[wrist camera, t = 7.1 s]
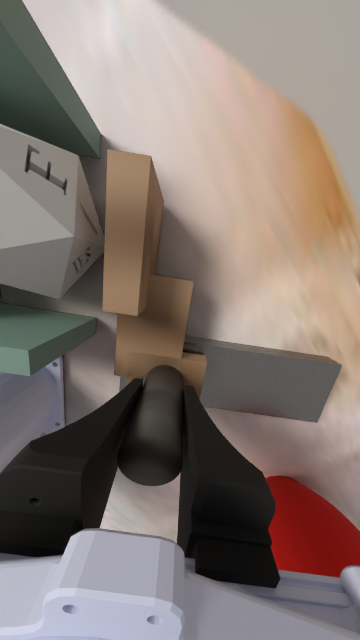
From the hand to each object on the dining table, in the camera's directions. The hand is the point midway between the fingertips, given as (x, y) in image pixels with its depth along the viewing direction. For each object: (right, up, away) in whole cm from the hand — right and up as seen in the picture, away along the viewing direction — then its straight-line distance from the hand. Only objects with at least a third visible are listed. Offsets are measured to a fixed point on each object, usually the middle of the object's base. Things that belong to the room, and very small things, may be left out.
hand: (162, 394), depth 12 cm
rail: (+5, 0, +4) cm, 7 cm away
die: (-7, +12, +1) cm, 14 cm away
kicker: (0, +6, +2) cm, 7 cm away
